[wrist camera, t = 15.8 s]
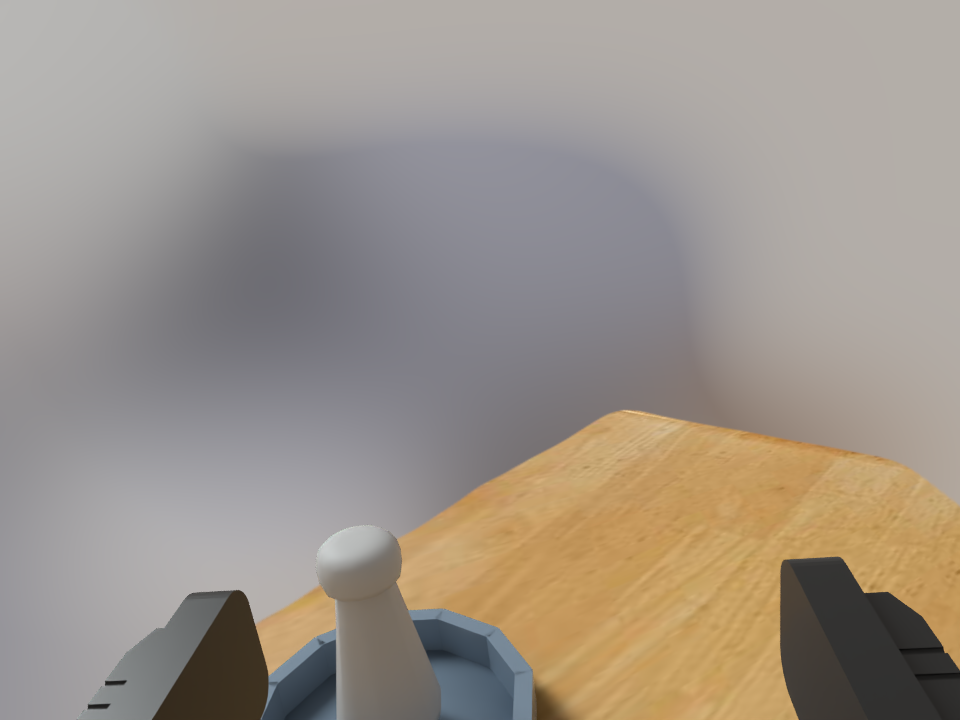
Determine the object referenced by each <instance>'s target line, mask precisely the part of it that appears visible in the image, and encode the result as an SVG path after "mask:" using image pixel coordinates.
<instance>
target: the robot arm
mask: <svg viewBox="0 0 960 720" xmlns="http://www.w3.org/2000/svg"><path fill="white" fill-rule="evenodd" d="M780 648H781V660H782V667H783V673H784V677H785V682H786V686H787V689H788V692H789V695H790V698H791V701H792V703H793V706H794V708H795V711H796V713H797V716H798V718H799V720H960V670H959V669H958V667H957V666H956V664H955V663H954V662H953V660H952V659H951V657H950V656H949V654H948V653H945V652H944V649H943V646H942V644H941V643H940V641H939V640H938V639H937V637H936V636H935V634H934V633H933V631H932V630H931V629H930V627H929V626H928V624H927V623H926V621H925V620H924V619H923V617H922V616H921V615H919V614H918V613H916V612H915V611H914V610H912V609H911V608H909V607H908V606H907V605H905V604H904V603H903V602H901V601H900V600H898V599H897V598H896V597H894V596H893V595H892V594H890V593H889V592H878V593H864V592H863V591H862V589H861V588H860V586H859V584H858V583H857V581H856V579H855V578H854V576H853V575H852V573H851V571H850V570H849V568H848V566H847V565H846V563H845V562H844V560H843V559H842V558H840V557H825V558H807V559H790V560H784V561H783V562H782V565H781V601H780ZM268 689H269V677H268V670H267V665H266V662H265V658H264V655H263V651H262V648H261V644H260V641H259V637H258V634H257V630H256V626H255V623H254V619H253V616H252V612H251V609H250V605H249V602H248V599H247V597H246V595H245V594H244V593H243V592H242V591H240V590H236V591H235V590H234V591H217V592H199V593H192V594H190V595H188V596H187V597H186V598H185V600H184V601H183V602H182V604H181V605H180V607H179V608H178V610H177V611H176V612H175V614H174V615H173V616H172V618H171V619H170V621H169V622H168V624H167V625H166V627H165V628H159V629H155V630H154V631H153V632H152V633H150V634H149V635H148V636H147V637H146V638H144V639H143V640H142V641H140V642H139V643H138V644H137V645H136V646H134V647H133V648H132V649H131V650H129V651H128V652H127V653H126V654H125V655H124V657H123V658H122V659H121V661H120V662H119V663H118V665H117V666H116V667H115V669H114V670H113V671H112V673H111V674H110V675H109V677H108V678H107V679H106V681H105V686H104V687H101V688H100V689H99V690H98V692H97V693H96V694H95V696H94V697H93V698H92V700H91V701H90V702H89V704H88V709H87V710H85V711H83V712H82V713H81V714H80V716H79V717H78V718H77V720H261V718H262V716H263V713H264V710H265V707H266V703H267V698H268Z"/></svg>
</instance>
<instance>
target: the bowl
mask: <svg viewBox="0 0 960 720" xmlns="http://www.w3.org/2000/svg"><path fill="white" fill-rule="evenodd" d="M408 612H409V614H410V616H411V619H412V621H413V623H414V626H415V628H416V630H417V633H418V635H419V637H420V640H421V642H422V645H423V647H424V649H425V652H426V654H427V656H428V659H429V661H430V663H431V666H432V668H433V671H434V673H435V675H436V678H437V680H438V682H439V685H440V687H441V715H440V717H439V719H438V720H537V702H536V694H535V686H534V678H533V670H532V669H531V667H530V666H529V665H528V664H527V662H526V661H525V660H524V659H523V657H522V656H521V655H520V654H519V653H518V651H517V650H516V649H515V648H514V646H513V645H512V644H511V643H510V641H509V640H508V639H507V638H506V636H505V635H504V634H503V633H502V632H501V630H500V629H499V628H497V627H494V626H492V625H489V624H486V623H483V622H480V621H477V620H475V619H472V618H469V617H466V616H463V615H460V614H457V613H455V612H452V611H449V610H446V609H427V610H408ZM268 677H269V689H268V698H267V703H266V707H265V710H264V713H263V716H262V718H261V720H337V707H336V629H335V630H332V631H329V632H327V633H324V634H322V635H319V636H317V637H316V638H314V639H312V640H311V641H310V642H309V643H308V644H306V645H305V646H304V647H303V648H302V649H300V650H299V651H298V652H297V653H296V654H295V655H293V656H292V657H291V658H290V659H289V660H287V661H286V662H285V663H284V664H283V665H281V666H280V667H279V668H278V669H277V670H276V671H274V672H273V673H272V674H271V675H270V676H268Z"/></svg>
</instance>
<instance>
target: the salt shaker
mask: <svg viewBox="0 0 960 720" xmlns="http://www.w3.org/2000/svg"><path fill="white" fill-rule="evenodd" d="M401 564H402V558H401V549H400V546H399V544H398V541H397V539H396V538H395V537H394V536H393V535H392V534H391V533H390V532H389V531H387V530H385V529H383V528H379V527H376V526H373V525H364V526H355V527H351V528H347V529H343V530H341V531H340V532H338V533H336V534H334V535H332V536H331V537H330V538H329V539H328V540H327V541H326V542H325V543H324V544H323V545H322V546H321V547H320V549H319V550H318V554H317V559H316V573H317V576H318V580H319V583H320V585H321V586H322V588H323V589H324V591H325V592H326V594H327V595H328V597H331V598H334V599H335V608H336V707H337V720H438V719H439V717H440V715H441V687H440V685H439V682H438V680H437V678H436V675H435V673H434V671H433V668H432V666H431V663H430V661H429V659H428V656H427V654H426V652H425V649H424V647H423V645H422V642H421V640H420V637H419V635H418V633H417V630H416V628H415V626H414V623H413V621H412V619H411V616H410V614H409V612H408V609H407V607H406V604H405V602H404V600H403V597H402V595H401V593H400V590H399V588H398V586H397V583H396V581H397V579H398V578H399V577H400V573H401Z"/></svg>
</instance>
